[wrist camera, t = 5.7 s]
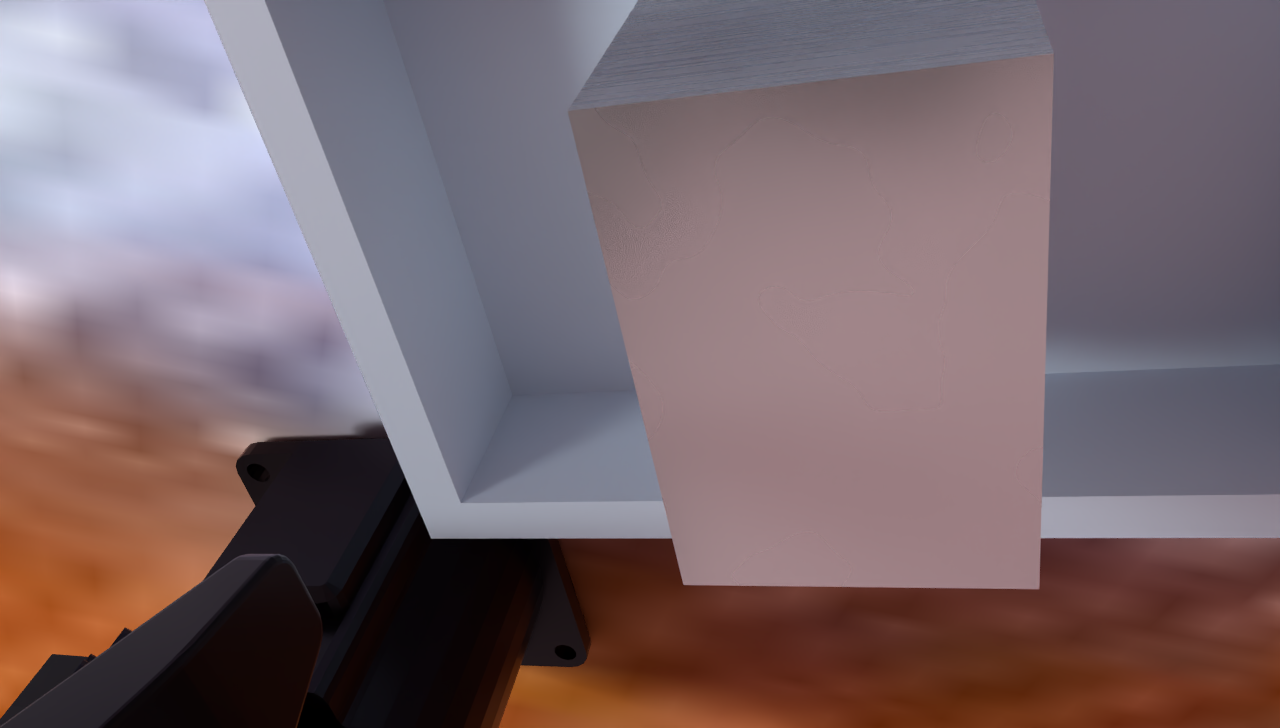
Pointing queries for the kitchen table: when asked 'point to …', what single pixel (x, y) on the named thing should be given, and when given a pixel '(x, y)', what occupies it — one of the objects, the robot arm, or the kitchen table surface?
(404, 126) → the tote
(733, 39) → the block
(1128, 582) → the kitchen table surface
